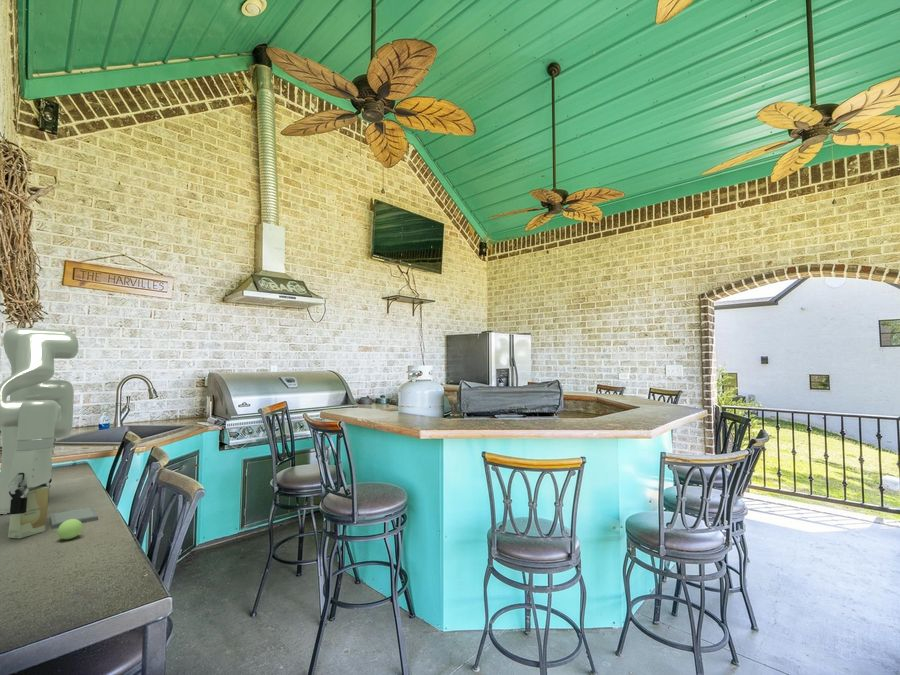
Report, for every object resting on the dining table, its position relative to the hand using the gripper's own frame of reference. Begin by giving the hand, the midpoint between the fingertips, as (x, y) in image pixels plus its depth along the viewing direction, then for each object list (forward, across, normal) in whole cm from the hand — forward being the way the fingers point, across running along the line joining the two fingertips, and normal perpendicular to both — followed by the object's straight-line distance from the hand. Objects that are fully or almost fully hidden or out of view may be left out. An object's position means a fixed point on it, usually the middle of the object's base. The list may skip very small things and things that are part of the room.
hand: (29, 508), depth 115 cm
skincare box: (+7, -1, 0) cm, 7 cm away
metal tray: (+7, -13, +5) cm, 15 cm away
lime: (+7, +7, +13) cm, 16 cm away
